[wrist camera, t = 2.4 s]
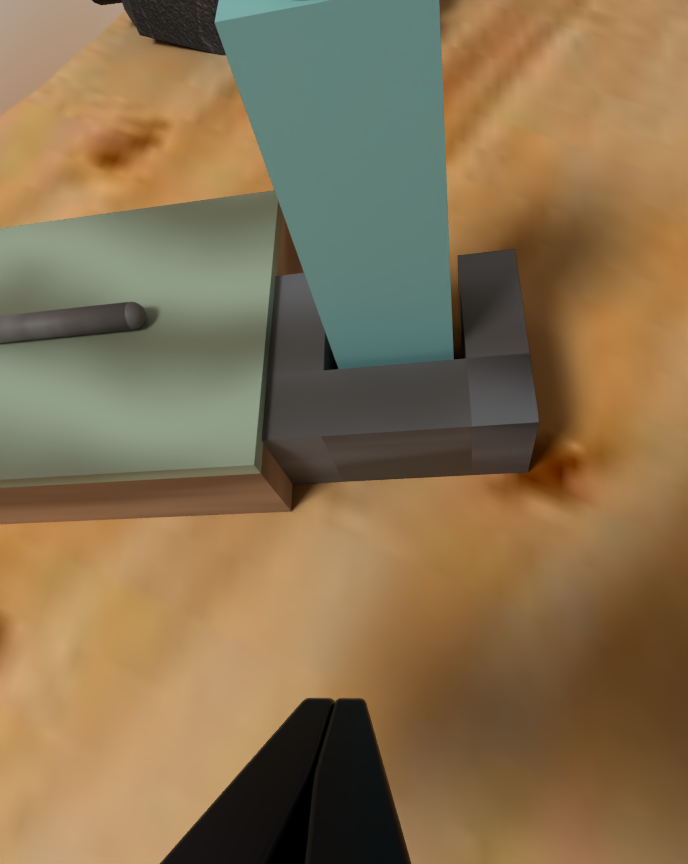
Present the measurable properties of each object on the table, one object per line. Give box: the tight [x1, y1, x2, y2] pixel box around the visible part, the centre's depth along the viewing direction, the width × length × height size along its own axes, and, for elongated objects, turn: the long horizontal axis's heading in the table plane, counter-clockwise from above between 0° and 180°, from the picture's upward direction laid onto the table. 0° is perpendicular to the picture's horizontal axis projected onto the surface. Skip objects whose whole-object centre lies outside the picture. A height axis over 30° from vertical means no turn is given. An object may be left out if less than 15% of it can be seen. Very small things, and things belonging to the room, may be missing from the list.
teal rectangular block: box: [215, 0, 454, 369], centre depth 17 cm, size 3×4×16 cm
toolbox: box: [0, 190, 539, 524], centre depth 24 cm, size 12×27×6 cm, turn 89°
